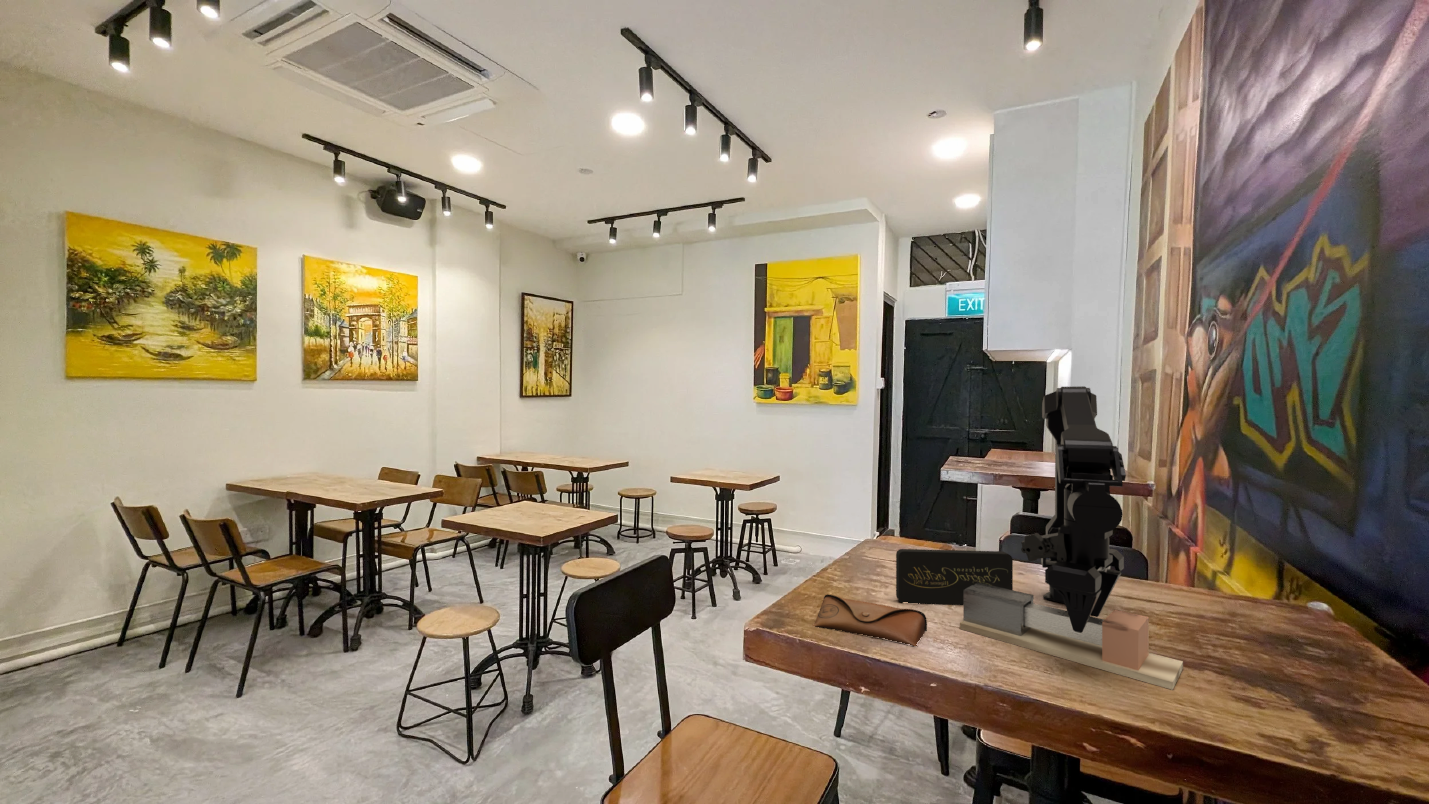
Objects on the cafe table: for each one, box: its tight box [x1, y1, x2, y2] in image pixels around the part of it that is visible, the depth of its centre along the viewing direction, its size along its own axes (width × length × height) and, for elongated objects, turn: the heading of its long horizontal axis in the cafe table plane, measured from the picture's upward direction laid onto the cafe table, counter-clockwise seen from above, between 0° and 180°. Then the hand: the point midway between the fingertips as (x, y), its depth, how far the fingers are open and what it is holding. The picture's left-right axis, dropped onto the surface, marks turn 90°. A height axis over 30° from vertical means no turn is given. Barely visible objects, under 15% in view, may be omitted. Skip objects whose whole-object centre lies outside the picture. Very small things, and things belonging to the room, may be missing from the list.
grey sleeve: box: [962, 583, 1034, 636], centre depth 94 cm, size 6×9×5 cm, turn 44°
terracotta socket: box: [1102, 609, 1150, 670], centre depth 82 cm, size 7×4×6 cm, turn 134°
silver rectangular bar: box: [1023, 602, 1105, 646], centre depth 87 cm, size 3×17×3 cm, turn 43°
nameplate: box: [895, 548, 1014, 606], centre depth 107 cm, size 21×2×10 cm, turn 86°
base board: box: [959, 620, 1184, 691], centre depth 88 cm, size 9×28×1 cm, turn 44°
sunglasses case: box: [811, 593, 928, 647], centre depth 95 cm, size 18×7×7 cm
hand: (1086, 623), depth 85 cm, fingers open, 9 cm apart
